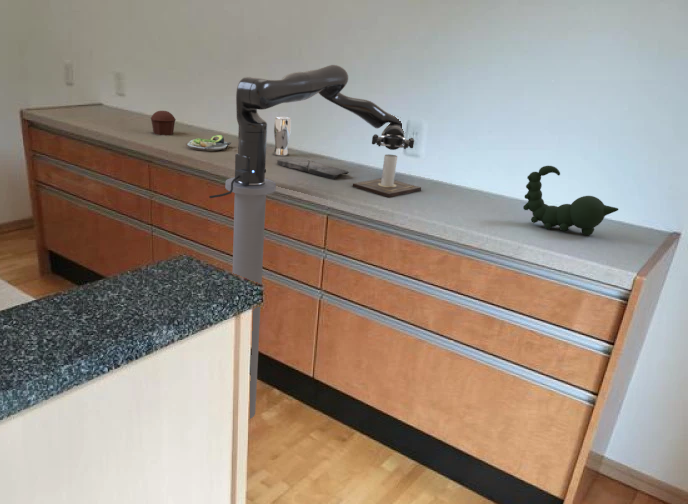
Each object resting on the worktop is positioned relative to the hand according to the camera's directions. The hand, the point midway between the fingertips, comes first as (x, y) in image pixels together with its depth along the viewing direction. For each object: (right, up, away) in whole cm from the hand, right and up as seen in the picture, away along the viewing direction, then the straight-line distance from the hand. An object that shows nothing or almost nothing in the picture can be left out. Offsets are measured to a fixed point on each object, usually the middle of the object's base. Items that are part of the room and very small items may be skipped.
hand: (392, 144), depth 203 cm
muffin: (-93, +25, +79) cm, 125 cm away
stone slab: (-26, -3, +27) cm, 38 cm away
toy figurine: (+46, -32, -24) cm, 61 cm away
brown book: (-1, -13, +8) cm, 16 cm away
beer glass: (-38, +9, +51) cm, 65 cm away
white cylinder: (0, -12, +8) cm, 14 cm away
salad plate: (-69, +13, +56) cm, 89 cm away
